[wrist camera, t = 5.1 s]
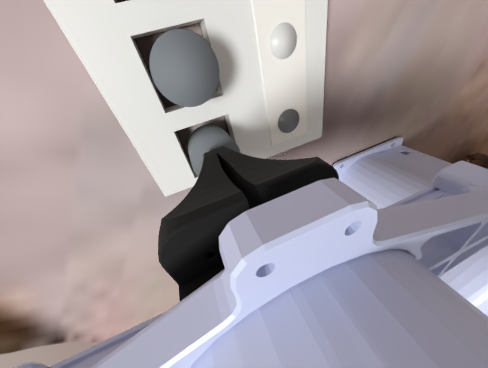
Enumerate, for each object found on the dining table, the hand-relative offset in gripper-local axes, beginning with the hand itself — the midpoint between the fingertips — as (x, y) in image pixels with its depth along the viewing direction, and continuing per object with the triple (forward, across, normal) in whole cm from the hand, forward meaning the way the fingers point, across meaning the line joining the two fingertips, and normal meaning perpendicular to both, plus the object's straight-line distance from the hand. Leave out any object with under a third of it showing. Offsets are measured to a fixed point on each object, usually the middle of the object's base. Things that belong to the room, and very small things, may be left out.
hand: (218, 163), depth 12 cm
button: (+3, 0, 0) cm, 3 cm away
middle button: (+3, 0, -5) cm, 6 cm away
